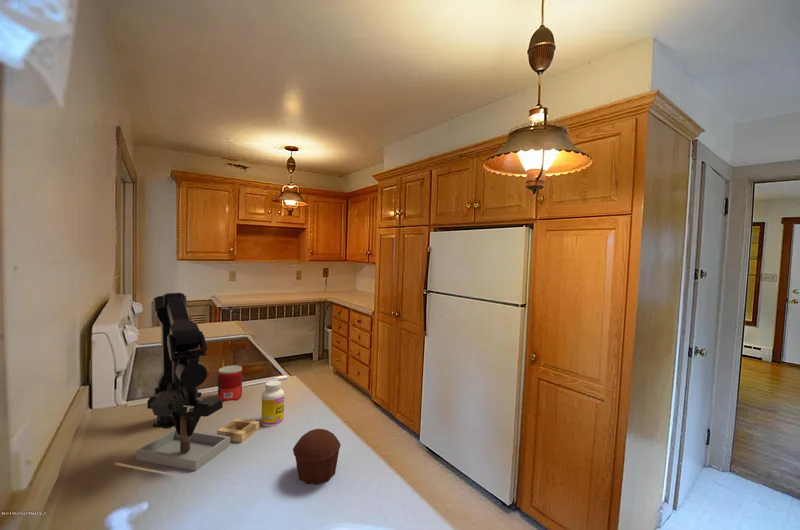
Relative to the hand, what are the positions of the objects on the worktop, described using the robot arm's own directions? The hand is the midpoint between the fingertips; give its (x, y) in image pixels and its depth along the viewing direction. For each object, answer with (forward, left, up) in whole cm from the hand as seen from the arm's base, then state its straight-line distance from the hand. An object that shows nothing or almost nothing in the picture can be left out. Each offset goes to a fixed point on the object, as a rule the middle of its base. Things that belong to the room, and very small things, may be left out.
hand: (185, 435), depth 94 cm
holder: (+7, +12, -5) cm, 15 cm away
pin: (0, 0, -4) cm, 4 cm away
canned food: (-14, +34, -5) cm, 38 cm away
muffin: (+37, +1, -6) cm, 37 cm away
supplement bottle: (+12, +21, -5) cm, 25 cm away
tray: (0, 0, -5) cm, 5 cm away
